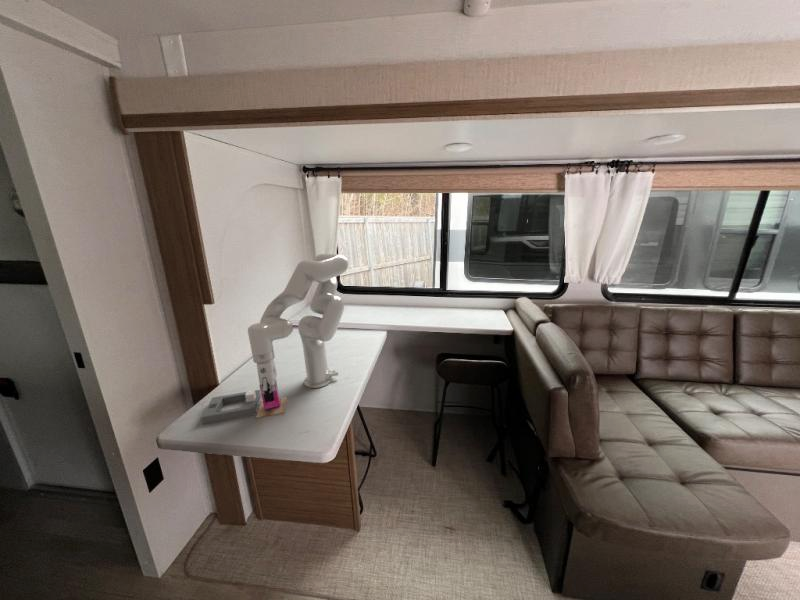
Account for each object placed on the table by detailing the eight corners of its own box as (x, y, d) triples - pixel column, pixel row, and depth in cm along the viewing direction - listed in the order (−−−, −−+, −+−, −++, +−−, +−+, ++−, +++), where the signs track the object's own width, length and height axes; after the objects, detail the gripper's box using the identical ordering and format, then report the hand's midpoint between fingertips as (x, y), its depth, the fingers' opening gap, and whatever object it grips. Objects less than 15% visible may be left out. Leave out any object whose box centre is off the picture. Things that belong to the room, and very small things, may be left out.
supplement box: (264, 402, 119) (260, 377, 116) (280, 399, 121) (276, 374, 118) (263, 411, 114) (259, 385, 111) (280, 407, 116) (275, 381, 113)
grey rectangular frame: (260, 395, 126) (258, 383, 125) (255, 414, 114) (252, 401, 113) (213, 403, 122) (210, 391, 120) (202, 424, 110) (199, 410, 108)
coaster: (286, 398, 124) (286, 397, 124) (284, 412, 115) (284, 411, 114) (261, 402, 121) (260, 401, 121) (256, 418, 112) (256, 416, 112)
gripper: (271, 364, 105) (278, 407, 110) (276, 344, 121) (283, 383, 126) (248, 367, 103) (256, 411, 108) (257, 347, 119) (264, 386, 124)
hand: (270, 396), depth 117 cm, fingers closed on supplement box, 6 cm apart
